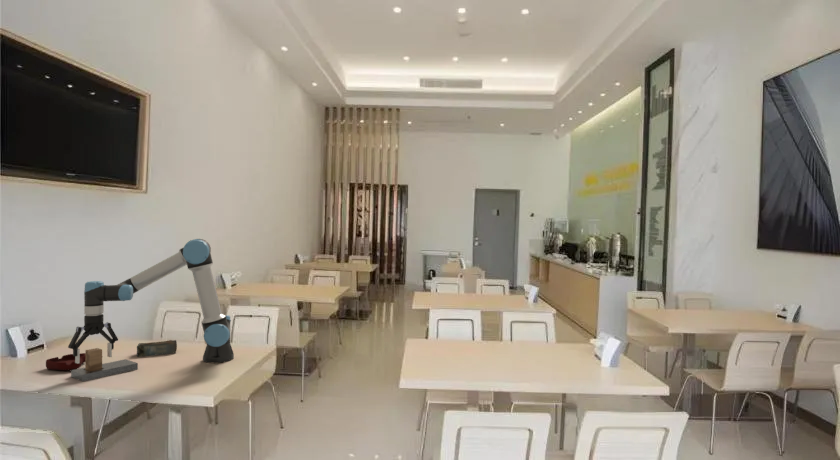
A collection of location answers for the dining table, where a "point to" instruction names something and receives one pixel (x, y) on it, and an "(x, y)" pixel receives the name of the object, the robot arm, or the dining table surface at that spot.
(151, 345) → the beverage carton
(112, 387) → the dining table surface
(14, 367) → the dining table surface
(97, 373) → the steel rail
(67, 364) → the dark red curved piece
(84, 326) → the robot arm
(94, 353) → the walnut block
